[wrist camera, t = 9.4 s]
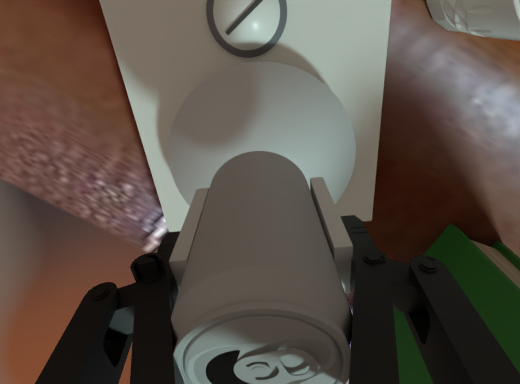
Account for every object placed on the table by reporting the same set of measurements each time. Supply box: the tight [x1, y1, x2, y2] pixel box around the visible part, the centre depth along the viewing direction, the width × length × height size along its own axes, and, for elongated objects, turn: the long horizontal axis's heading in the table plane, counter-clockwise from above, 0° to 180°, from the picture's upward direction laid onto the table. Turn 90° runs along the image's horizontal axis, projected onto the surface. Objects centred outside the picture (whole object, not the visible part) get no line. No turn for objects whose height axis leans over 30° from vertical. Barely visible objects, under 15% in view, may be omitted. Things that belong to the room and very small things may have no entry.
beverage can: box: [171, 151, 353, 384], centre depth 15 cm, size 6×6×12 cm
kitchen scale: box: [99, 0, 391, 232], centre depth 25 cm, size 20×22×5 cm
